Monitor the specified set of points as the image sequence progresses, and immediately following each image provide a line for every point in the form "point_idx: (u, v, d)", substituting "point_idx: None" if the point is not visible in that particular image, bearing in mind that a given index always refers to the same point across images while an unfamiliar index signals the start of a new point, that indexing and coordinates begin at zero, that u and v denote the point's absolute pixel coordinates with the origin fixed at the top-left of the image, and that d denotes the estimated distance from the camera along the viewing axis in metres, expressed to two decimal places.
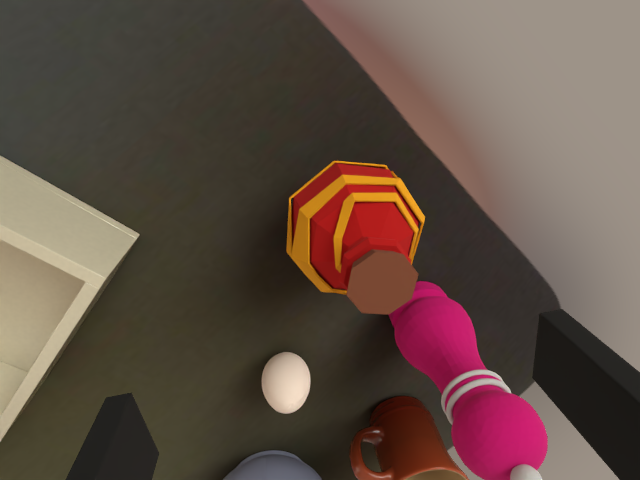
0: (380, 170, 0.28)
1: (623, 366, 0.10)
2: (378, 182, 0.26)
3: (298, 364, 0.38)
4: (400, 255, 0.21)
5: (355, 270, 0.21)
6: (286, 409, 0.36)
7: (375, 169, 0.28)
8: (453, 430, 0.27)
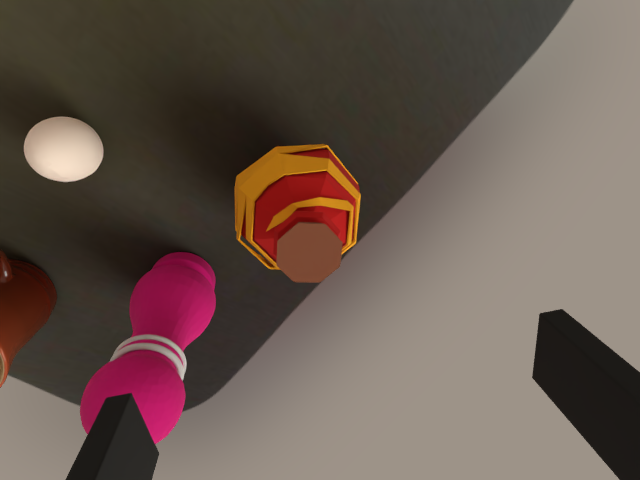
0: None
1: (623, 365, 0.10)
2: (356, 226, 0.30)
3: (97, 164, 0.31)
4: (339, 263, 0.24)
5: (325, 228, 0.23)
6: (39, 157, 0.27)
7: None
8: (129, 358, 0.24)
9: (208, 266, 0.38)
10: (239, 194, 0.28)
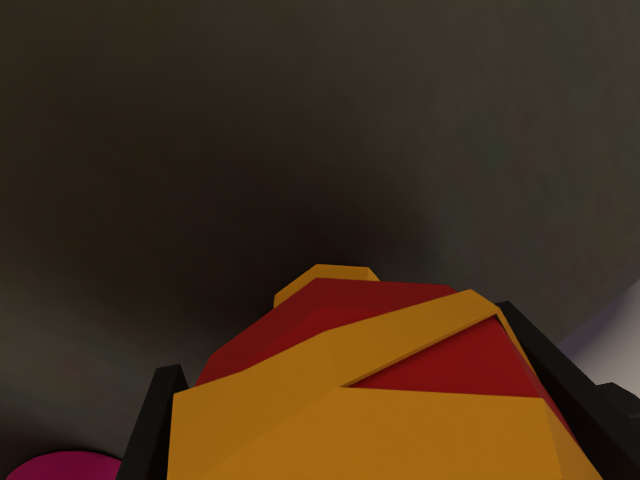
0: None
1: (553, 351, 0.11)
2: None
3: None
4: None
5: None
6: None
7: None
8: None
9: None
10: None
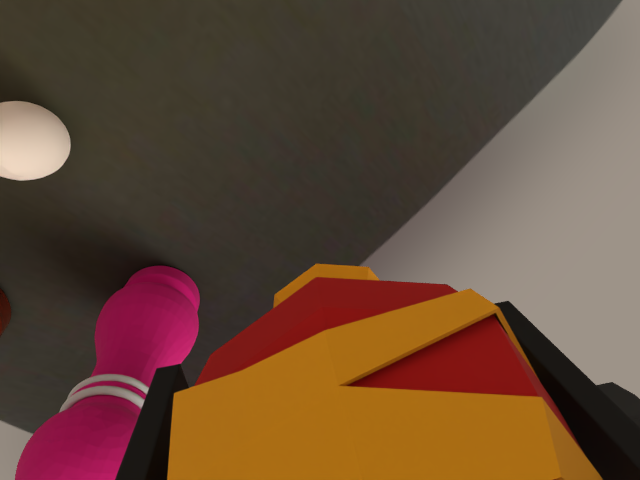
0: None
1: (553, 351, 0.11)
2: None
3: (61, 160, 0.26)
4: None
5: None
6: None
7: None
8: (83, 411, 0.19)
9: (192, 283, 0.33)
10: None
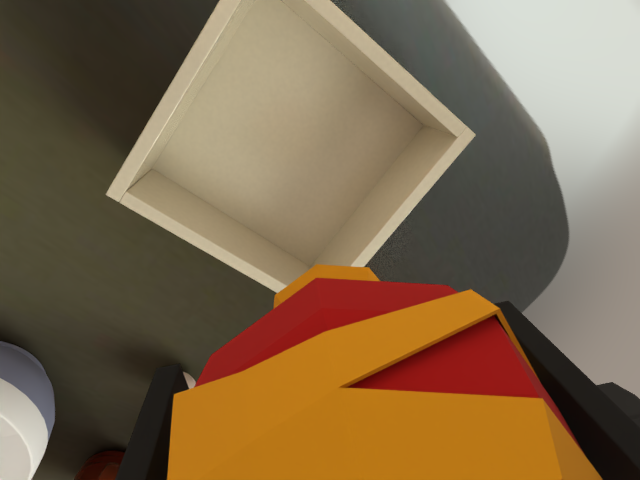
0: None
1: (553, 351, 0.11)
2: None
3: None
4: None
5: None
6: None
7: None
8: None
9: None
10: None
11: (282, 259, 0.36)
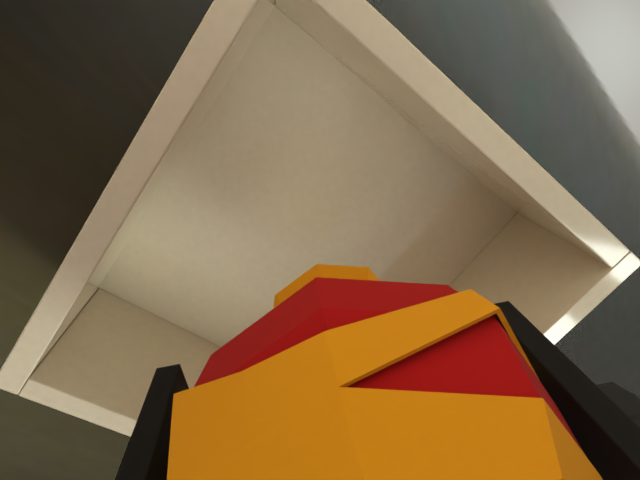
0: None
1: (553, 352, 0.11)
2: None
3: None
4: None
5: None
6: None
7: None
8: None
9: None
10: None
11: None
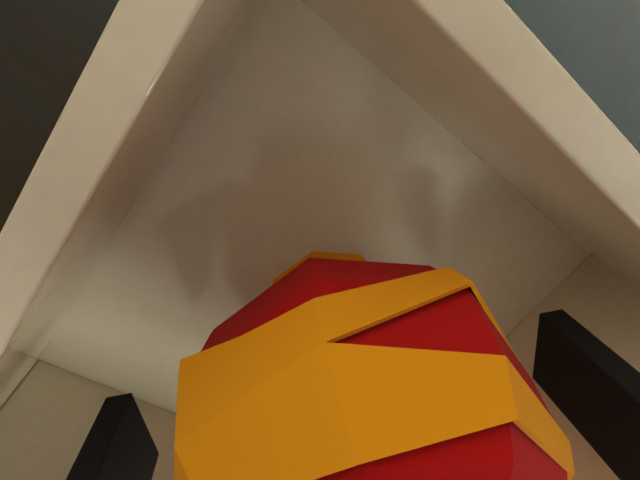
0: None
1: (623, 366, 0.10)
2: None
3: None
4: None
5: None
6: None
7: None
8: None
9: None
10: (177, 467, 0.08)
11: None
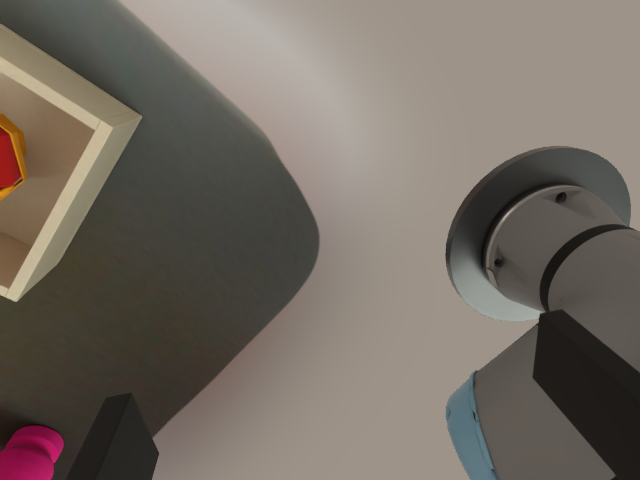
0: (9, 175, 0.31)
1: (623, 366, 0.10)
2: None
3: None
4: None
5: None
6: None
7: (9, 171, 0.31)
8: None
9: (55, 435, 0.51)
10: None
11: None
